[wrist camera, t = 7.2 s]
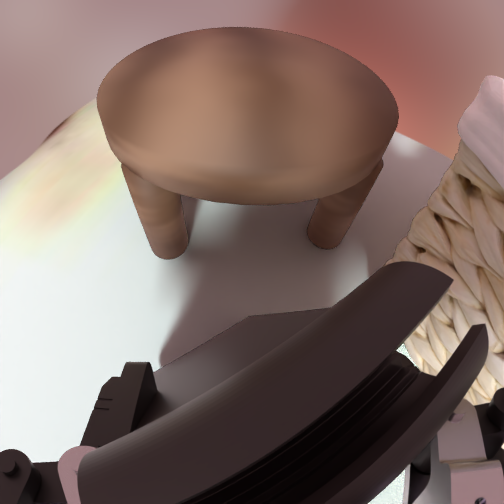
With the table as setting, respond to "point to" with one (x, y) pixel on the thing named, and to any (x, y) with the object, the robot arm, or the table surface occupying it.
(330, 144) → the stool
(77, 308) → the table surface
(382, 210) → the table surface
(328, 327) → the phone stand
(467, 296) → the storage basket
